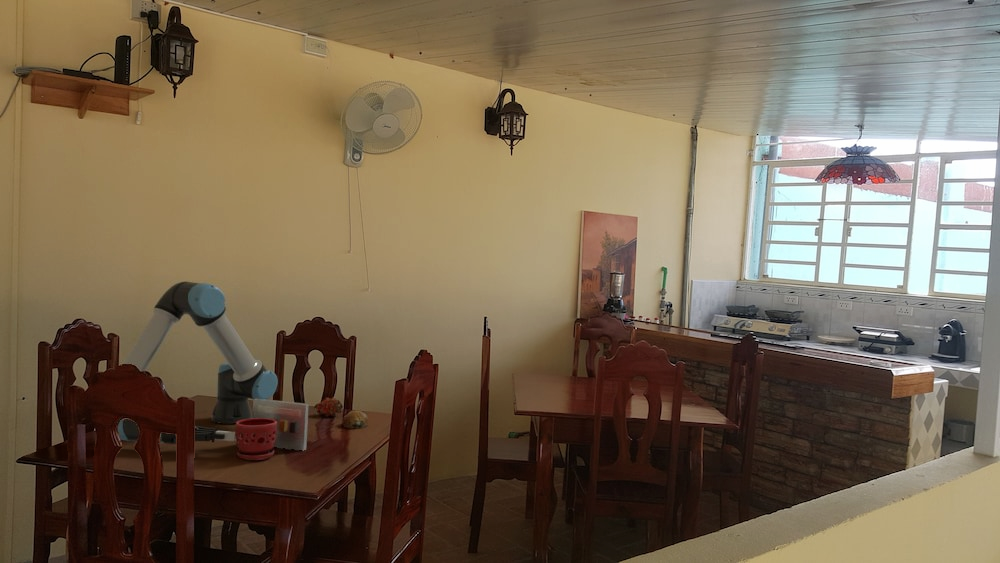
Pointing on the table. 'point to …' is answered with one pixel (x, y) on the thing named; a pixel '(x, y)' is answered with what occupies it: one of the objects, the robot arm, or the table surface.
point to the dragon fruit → (329, 407)
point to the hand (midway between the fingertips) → (235, 436)
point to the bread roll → (355, 420)
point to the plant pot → (255, 438)
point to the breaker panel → (285, 421)
